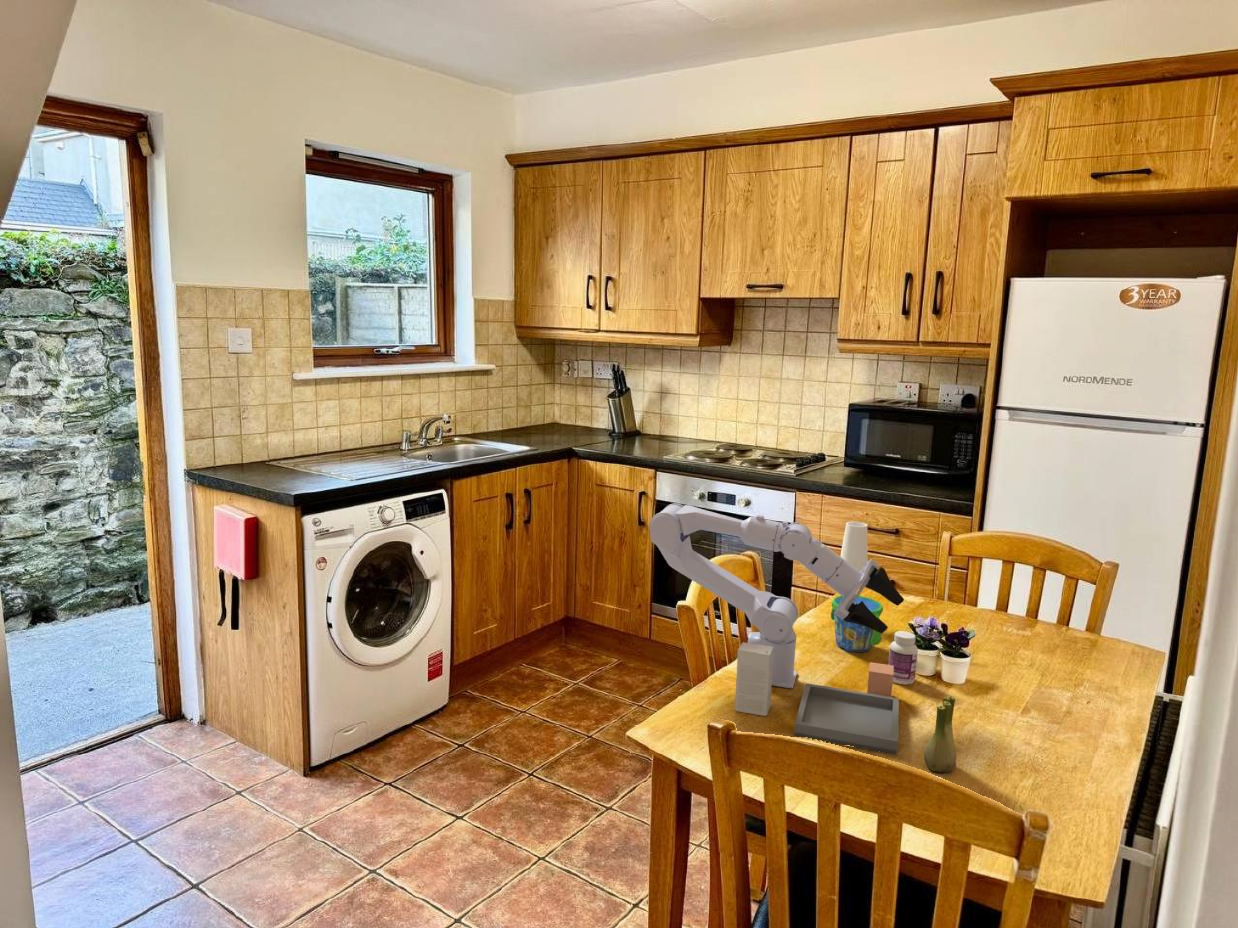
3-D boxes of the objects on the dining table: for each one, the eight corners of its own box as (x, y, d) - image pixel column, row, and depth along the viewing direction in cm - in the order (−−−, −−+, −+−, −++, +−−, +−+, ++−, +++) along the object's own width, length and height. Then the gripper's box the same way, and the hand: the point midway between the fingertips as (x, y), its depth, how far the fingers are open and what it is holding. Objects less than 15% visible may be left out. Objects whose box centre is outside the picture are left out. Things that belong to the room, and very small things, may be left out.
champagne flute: (857, 629, 198) (866, 529, 194) (829, 622, 202) (837, 524, 198) (866, 621, 204) (875, 523, 200) (839, 614, 208) (847, 518, 203)
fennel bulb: (935, 778, 136) (943, 708, 134) (913, 763, 141) (920, 695, 138) (963, 771, 139) (971, 702, 136) (940, 756, 143) (948, 689, 141)
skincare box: (770, 707, 159) (774, 646, 156) (766, 717, 155) (771, 655, 153) (738, 701, 161) (742, 641, 158) (733, 711, 157) (737, 649, 154)
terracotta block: (866, 700, 163) (869, 671, 162) (867, 690, 167) (869, 662, 166) (890, 704, 161) (893, 674, 160) (890, 694, 166) (893, 665, 164)
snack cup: (894, 659, 182) (898, 614, 180) (848, 662, 180) (853, 616, 178) (857, 631, 197) (861, 589, 195) (815, 634, 195) (819, 591, 193)
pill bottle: (916, 686, 169) (921, 641, 167) (888, 683, 170) (892, 638, 168) (912, 675, 174) (917, 630, 173) (885, 672, 175) (889, 628, 174)
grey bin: (793, 736, 148) (794, 723, 148) (804, 695, 164) (805, 682, 164) (896, 755, 143) (898, 741, 143) (897, 710, 159) (898, 698, 158)
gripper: (826, 587, 156) (888, 635, 154) (860, 537, 164) (919, 581, 162) (810, 602, 162) (869, 649, 160) (843, 553, 170) (900, 597, 168)
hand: (893, 616), depth 161 cm, fingers open, 7 cm apart
